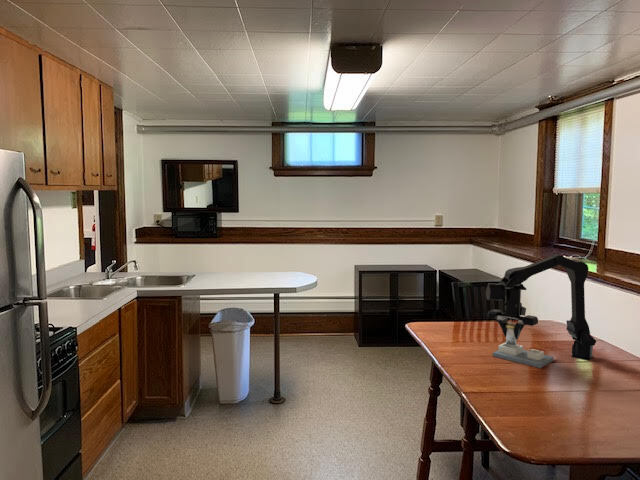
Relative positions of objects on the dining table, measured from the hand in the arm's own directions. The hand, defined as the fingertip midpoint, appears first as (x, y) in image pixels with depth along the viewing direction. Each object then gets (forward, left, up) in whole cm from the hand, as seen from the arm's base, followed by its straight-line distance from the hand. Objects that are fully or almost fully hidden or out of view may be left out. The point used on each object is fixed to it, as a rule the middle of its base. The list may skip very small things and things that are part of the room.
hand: (511, 337), depth 194 cm
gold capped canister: (0, 0, -2) cm, 2 cm away
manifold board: (-5, 0, -7) cm, 9 cm away
